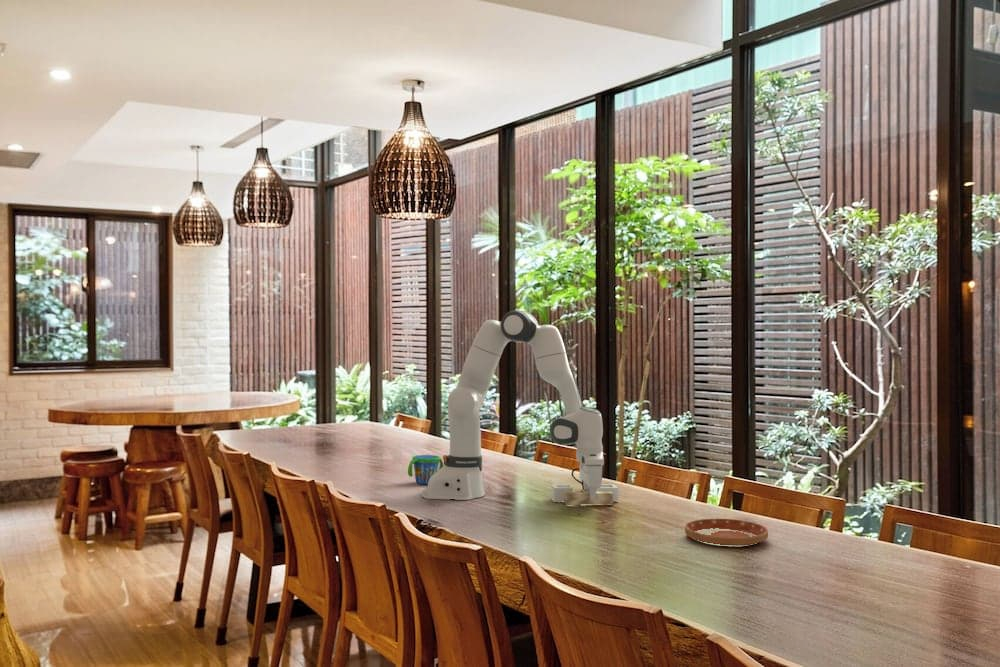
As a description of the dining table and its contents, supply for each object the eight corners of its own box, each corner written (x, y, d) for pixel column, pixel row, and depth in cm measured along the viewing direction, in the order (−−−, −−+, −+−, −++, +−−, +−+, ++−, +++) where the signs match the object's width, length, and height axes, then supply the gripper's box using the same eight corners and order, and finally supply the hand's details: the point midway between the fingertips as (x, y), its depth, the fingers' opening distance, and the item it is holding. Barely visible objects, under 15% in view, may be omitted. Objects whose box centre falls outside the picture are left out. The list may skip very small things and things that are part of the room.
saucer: (710, 553, 228) (710, 539, 228) (670, 532, 250) (671, 520, 250) (784, 547, 234) (784, 534, 234) (739, 528, 256) (740, 516, 256)
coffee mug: (603, 489, 314) (603, 462, 314) (603, 494, 306) (604, 466, 306) (571, 488, 316) (571, 461, 316) (571, 493, 307) (571, 465, 307)
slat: (565, 507, 284) (565, 493, 284) (564, 505, 287) (564, 491, 287) (612, 506, 286) (612, 493, 286) (610, 504, 289) (610, 491, 289)
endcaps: (554, 502, 290) (554, 488, 290) (551, 498, 297) (551, 484, 296) (618, 502, 291) (618, 487, 291) (613, 498, 298) (614, 484, 298)
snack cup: (436, 479, 332) (436, 453, 332) (450, 483, 324) (451, 456, 323) (401, 483, 323) (401, 456, 323) (415, 487, 314) (415, 460, 314)
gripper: (575, 451, 297) (575, 491, 297) (585, 460, 276) (585, 503, 276) (593, 451, 297) (593, 491, 297) (605, 460, 277) (605, 502, 277)
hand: (589, 497), depth 287 cm, fingers open, 8 cm apart
